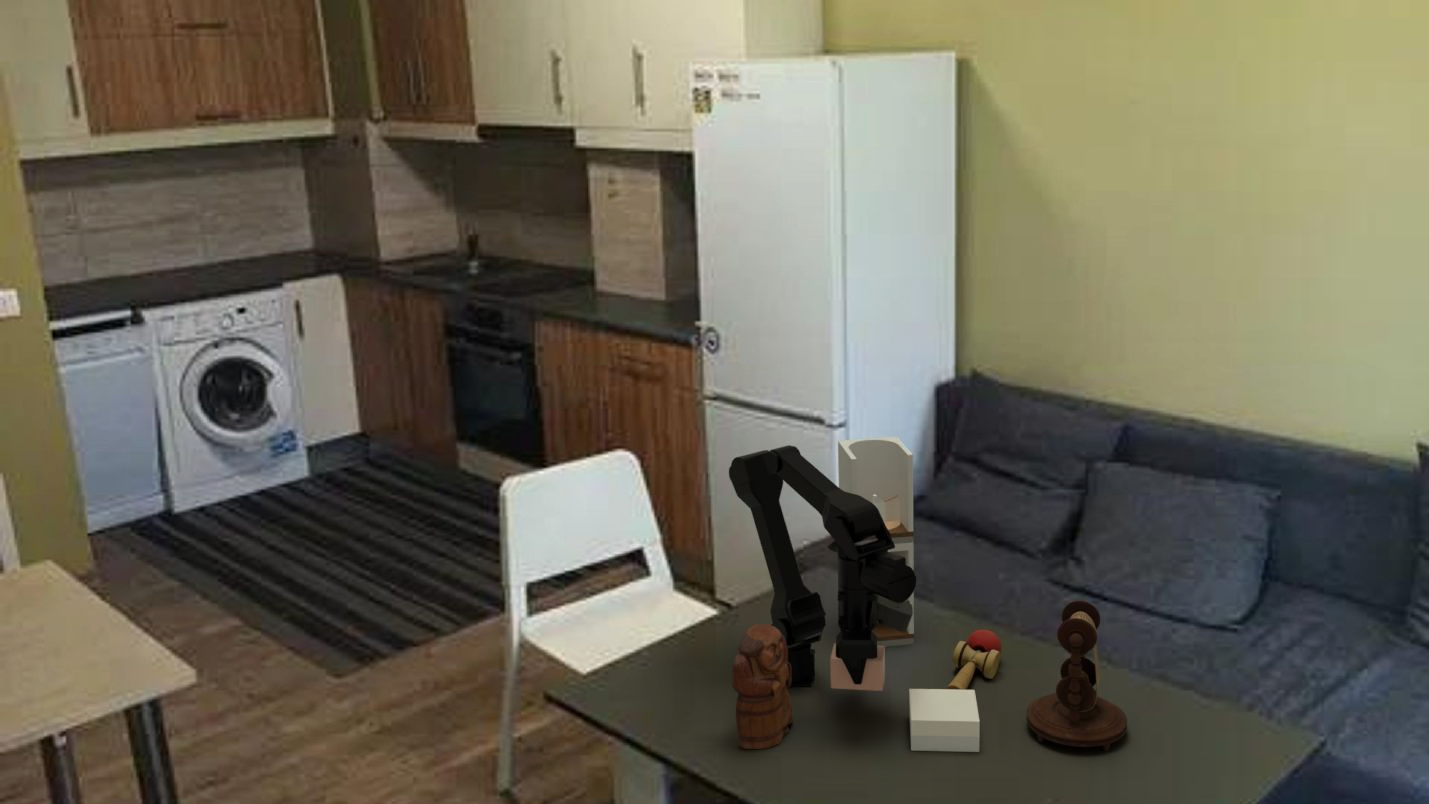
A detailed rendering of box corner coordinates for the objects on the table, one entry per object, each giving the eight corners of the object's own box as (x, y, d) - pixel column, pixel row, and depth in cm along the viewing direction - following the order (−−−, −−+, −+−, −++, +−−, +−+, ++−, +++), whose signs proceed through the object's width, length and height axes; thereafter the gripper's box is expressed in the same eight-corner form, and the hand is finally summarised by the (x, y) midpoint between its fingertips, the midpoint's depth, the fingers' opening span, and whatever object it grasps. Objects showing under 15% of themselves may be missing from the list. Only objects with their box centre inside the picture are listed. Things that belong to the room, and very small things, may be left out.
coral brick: (831, 688, 201) (830, 658, 199) (834, 672, 206) (834, 643, 205) (882, 690, 199) (882, 661, 198) (885, 674, 204) (884, 645, 203)
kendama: (982, 713, 205) (1014, 654, 220) (974, 679, 203) (1007, 621, 218) (937, 711, 209) (971, 653, 224) (929, 678, 207) (964, 621, 222)
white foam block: (911, 750, 192) (911, 720, 191) (909, 717, 202) (909, 688, 201) (979, 752, 191) (979, 721, 190) (974, 719, 201) (974, 689, 199)
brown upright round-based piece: (1123, 762, 187) (1129, 635, 182) (1020, 748, 192) (1022, 624, 187) (1129, 714, 200) (1134, 595, 195) (1032, 702, 205) (1034, 585, 200)
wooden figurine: (770, 756, 192) (766, 645, 188) (731, 748, 195) (726, 639, 191) (800, 720, 203) (797, 614, 198) (763, 713, 205) (759, 608, 201)
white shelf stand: (841, 622, 237) (837, 440, 229) (897, 618, 238) (896, 436, 230) (854, 649, 226) (851, 459, 218) (913, 644, 227) (913, 454, 219)
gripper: (911, 607, 188) (911, 704, 192) (907, 560, 206) (908, 649, 210) (834, 607, 190) (836, 703, 194) (838, 560, 208) (840, 649, 211)
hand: (858, 675), depth 202 cm, fingers closed on coral brick, 6 cm apart
